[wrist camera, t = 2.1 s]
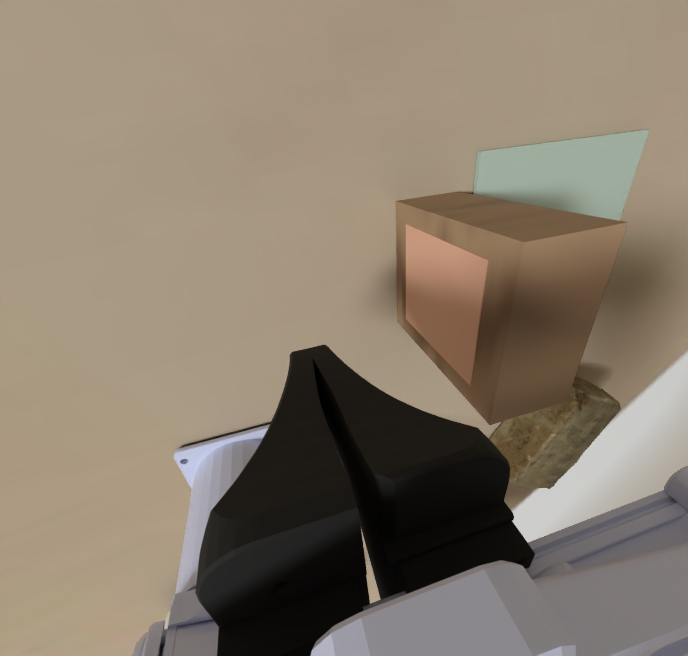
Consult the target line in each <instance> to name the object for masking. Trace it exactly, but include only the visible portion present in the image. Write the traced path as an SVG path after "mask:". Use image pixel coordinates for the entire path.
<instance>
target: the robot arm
mask: <svg viewBox="0 0 688 656" xmlns="http://www.w3.org/2000/svg"><path fill="white" fill-rule="evenodd" d="M333 441H334V442H333ZM335 446H336V447H335ZM336 449H337V450H336ZM337 452H338V453H337ZM338 454H339V455H338ZM339 457H340V458H339ZM174 459H175V461H176V462H177V464H178V466H179V468H180V469H181V471H182V473H183V475H184V477H185V478H186V480H187V482H188V484H189V485H190V487H191V489H192V494H191V500H190V506H189V512H188V519H187V525H186V531H185V537H184V543H183V549H182V556H181V562H180V568H179V574H178V580H177V586H176V593H175V594H174V595H173V598H172V604H171V610H170V616H169V622H168V628H167V629H164V626H165V621H161V622H155V623H153V624H152V625H151V626H150V628H149V631H148V632H146V633H145V634H144V635H143V636H142V638H141V639H140V640H139V641H138V642H137V644H136V646H135V649H134V651H133V655H132V656H688V466H686V467H684V468H682V469H680V470H678V471H677V472H676V473H674V474H673V475H672V476H671V477H670V478H669V480H668V481H667V483H666V485H665V487H664V490H663V491H660V492H658V493H655V494H653V495H650V496H648V497H645V498H642V499H640V500H637V501H635V502H632V503H629V504H627V505H624V506H622V507H620V508H617V509H614V510H611V511H609V512H606V513H604V514H601V515H598V516H596V517H593V518H591V519H588V520H586V521H583V522H580V523H578V524H575V525H573V526H570V527H568V528H565V529H562V530H560V531H557V532H555V533H552V534H549V535H547V536H544V537H542V538H539V539H537V540H534V541H531V542H529V543H527V541H526V540H525V539H524V537H523V536H522V535H521V533H520V532H519V530H518V529H517V528H516V526H515V525H514V523H513V522H512V520H513V519H514V516H513V513H512V511H511V510H510V509H509V507H508V506H507V505H506V503H505V502H504V497H505V494H506V490H507V486H508V482H509V478H510V465H509V463H508V460H507V459H506V458H505V457H504V455H503V454H502V453H501V452H500V451H499V449H498V448H497V447H496V446H495V445H494V444H493V443H492V442H491V441H490V440H489V439H488V438H487V437H486V436H485V435H484V434H483V433H482V432H481V431H480V430H479V429H478V428H476V427H472V426H469V425H465V424H461V423H458V422H454V421H451V420H447V419H444V418H441V417H438V416H435V415H433V414H430V413H427V412H424V411H422V410H419V409H417V408H415V407H412V406H410V405H408V404H406V403H404V402H402V401H399V400H397V399H395V398H393V397H392V396H390V395H388V394H386V393H385V392H383V391H381V390H380V389H378V388H376V387H375V386H373V385H372V384H371V383H369V382H368V381H366V380H365V379H363V378H362V377H361V376H359V375H358V374H357V373H356V372H354V371H353V370H352V369H351V368H350V367H348V366H347V365H346V364H345V363H344V362H343V361H342V360H340V359H339V358H338V357H337V356H336V355H335V354H334V353H333V352H332V351H331V350H330V349H329V347H328V346H326V345H321V346H317V347H312V348H308V349H303V350H299V351H295V352H292V353H291V354H290V365H289V371H288V376H287V380H286V384H285V387H284V391H283V394H282V397H281V399H280V402H279V405H278V408H277V410H276V413H275V415H274V417H273V419H272V421H271V424H269V425H265V426H261V427H258V428H254V429H250V430H246V431H243V432H239V433H235V434H231V435H228V436H224V437H220V438H216V439H213V440H209V441H205V442H201V443H198V444H194V445H190V446H186V447H183V448H179V449H177V450H176V451H175V454H174ZM184 459H186V460H184ZM340 459H341V460H340ZM341 462H342V463H341ZM342 464H343V465H342ZM343 467H344V468H343ZM344 470H345V471H344ZM360 525H361V526H360ZM361 529H362V532H363V536H364V540H365V543H366V547H367V550H368V554H369V558H370V561H371V565H372V569H373V572H374V576H375V580H376V583H377V587H378V591H379V594H380V598H381V600H379V601H377V602H374V603H371V604H370V601H369V594H368V586H367V579H366V574H367V571H366V564H365V556H364V549H363V541H362V534H361Z"/></svg>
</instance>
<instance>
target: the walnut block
mask: <svg viewBox="0 0 688 656" xmlns="http://www.w3.org/2000/svg"><path fill="white" fill-rule="evenodd" d="M627 224H628V222H623V221H618V220H612V219H607V218H601V217H596V216H590V215H585V214H579V213H574V212H568V211H563V210H557V209H551V208H546V207H540V206H535V205H529V204H524V203H518V202H513V201H507V200H502V199H496V198H491V197H485V196H480V195H474V194H469V193H463V192H452V193H446V194H439V195H433V196H426V197H419V198H413V199H406V200H400V201H396V256H397V322H398V323H399V324H400V325H401V326H402V328H403V329H404V330H405V331H406V332H407V333H408V334H409V335H410V336H411V338H412V339H413V340H414V341H415V342H416V343H417V344H418V345H419V347H420V348H421V349H422V350H423V351H424V352H425V353H426V354H427V356H428V357H429V358H430V359H431V360H432V361H433V362H434V363H435V364H436V366H437V367H438V368H439V369H440V370H441V371H442V372H443V373H444V375H445V376H446V377H447V378H448V379H449V380H450V381H451V382H452V384H453V385H454V386H455V387H456V388H457V389H458V390H459V391H460V392H461V394H462V395H463V396H464V397H465V398H466V399H467V400H468V401H469V403H470V404H471V405H472V406H473V407H474V408H475V409H476V410H477V412H478V413H479V414H480V415H481V416H482V417H483V418H484V419H485V420H486V422H487V423H488V424H489V425H492V424H495V423H498V422H502V421H505V420H508V419H511V418H515V417H518V416H521V415H525V414H528V413H531V412H534V411H538V410H541V409H544V408H548V407H551V406H554V405H558V404H561V403H564V402H567V399H568V396H569V393H570V390H571V387H572V384H573V382H574V379H575V376H576V373H577V370H578V367H579V364H580V361H581V358H582V355H583V352H584V349H585V347H586V344H587V341H588V338H589V335H590V332H591V329H592V326H593V323H594V320H595V317H596V314H597V312H598V309H599V306H600V303H601V300H602V297H603V294H604V291H605V288H606V285H607V282H608V279H609V277H610V274H611V271H612V268H613V265H614V262H615V259H616V256H617V253H618V250H619V247H620V245H621V242H622V239H623V236H624V233H625V230H626V227H627Z"/></svg>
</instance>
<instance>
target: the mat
mask: <svg viewBox="0 0 688 656" xmlns="http://www.w3.org/2000/svg"><path fill="white" fill-rule="evenodd" d="M648 133H649V130H639V131H632V132H624V133H616V134H609V135H601V136H593V137H585V138H578V139H570V140H562V141H555V142H547V143H539V144H531V145H524V146H516V147H508V148H501V149H493V150H485V151H478V152H477V159H476V169H475V179H474V189H473V194H474V195H480V196H485V197H491V198H496V199H502V200H507V201H513V202H518V203H524V204H529V205H535V206H540V207H546V208H551V209H557V210H563V211H568V212H574V213H579V214H585V215H590V216H596V217H601V218H607V219H612V220H618V221H620V218H621V215H622V211H623V208H624V205H625V202H626V199H627V196H628V193H629V190H630V187H631V184H632V181H633V178H634V175H635V172H636V169H637V166H638V163H639V160H640V157H641V154H642V151H643V148H644V145H645V142H646V139H647V136H648Z"/></svg>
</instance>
